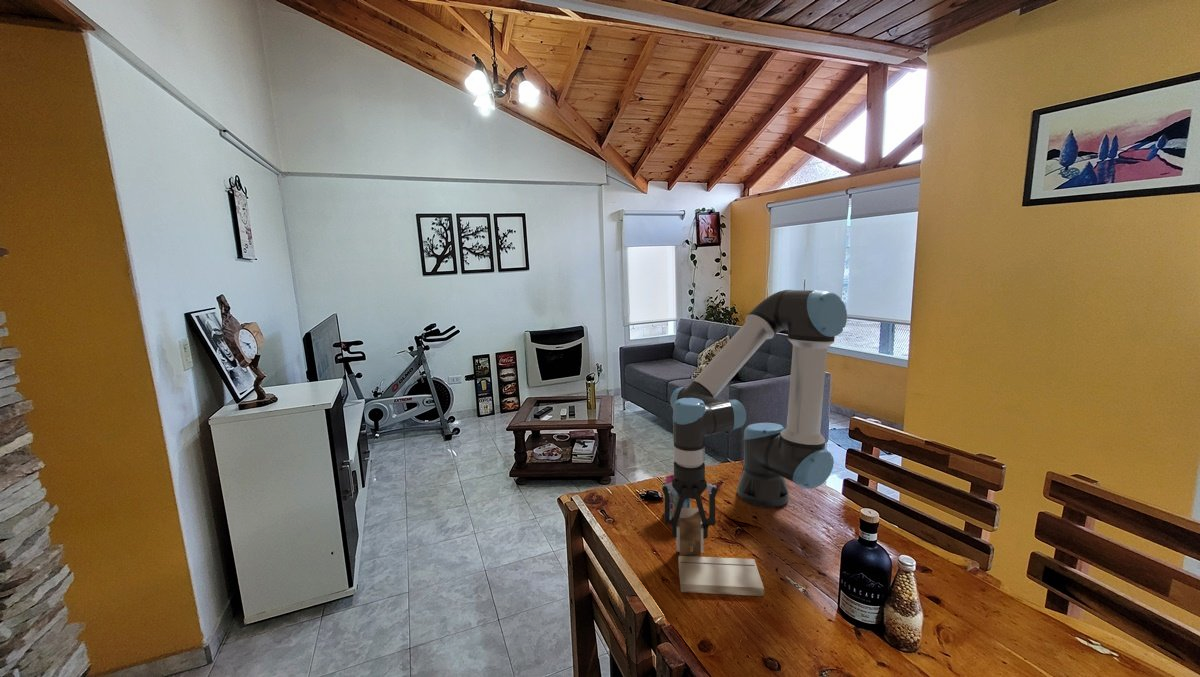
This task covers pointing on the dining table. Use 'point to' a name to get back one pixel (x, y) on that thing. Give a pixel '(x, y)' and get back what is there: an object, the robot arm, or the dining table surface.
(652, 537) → the dining table surface
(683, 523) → the brown box
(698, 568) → the board
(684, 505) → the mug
